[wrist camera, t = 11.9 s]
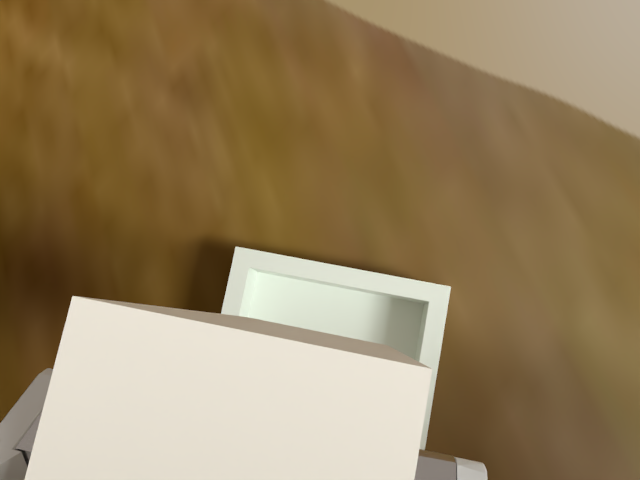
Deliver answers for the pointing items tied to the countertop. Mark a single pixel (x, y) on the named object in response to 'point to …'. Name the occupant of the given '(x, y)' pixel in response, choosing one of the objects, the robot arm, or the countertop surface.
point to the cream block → (223, 400)
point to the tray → (342, 304)
